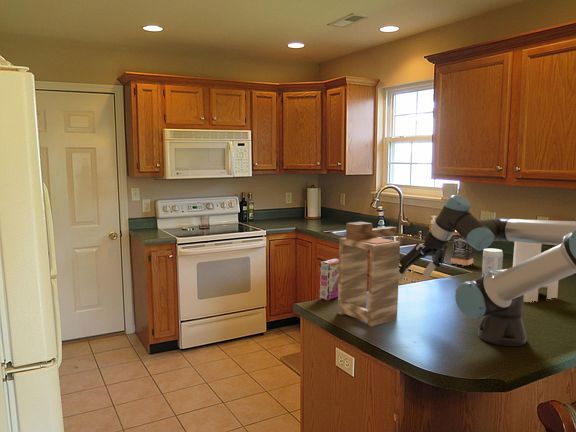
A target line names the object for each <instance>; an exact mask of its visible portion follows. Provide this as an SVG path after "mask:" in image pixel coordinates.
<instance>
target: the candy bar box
mask: <svg viewBox="0 0 576 432" xmlns="http://www.w3.org/2000/svg"><path fill="white" fill-rule="evenodd" d="M319 276H320V277H319V278H320V279H319V300H323V301H326V302H327V301H330V300H333V299H336V298H338V282H339V258H331V259H328V260H327V259H326V260H322V261H321V262H320V274H319Z"/></svg>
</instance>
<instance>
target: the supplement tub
mask: <svg viewBox="0 0 576 432" xmlns="http://www.w3.org/2000/svg"><path fill="white" fill-rule="evenodd" d="M482 251H483V252H482V263H481V264H482V266H481V268H482V270H481V276H483V275H485V274H487V273H488V271H490V270H503V260H504V253H503V251H504V250H502V249H499V248H488V247H487V248H485V249H483V250H482Z"/></svg>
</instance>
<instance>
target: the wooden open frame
mask: <svg viewBox="0 0 576 432" xmlns="http://www.w3.org/2000/svg"><path fill="white" fill-rule="evenodd" d="M376 238H378V237H376ZM381 238H382V237H381ZM372 239H373V238H372ZM382 239H384V238H382ZM386 239H387V238H386ZM387 240H389V239H387ZM394 241H395V242H390V243H383V244H371V243H366V242H361V241H360V240H359V241H356V240H351V239H346V237H340V238H339V247H338V248H339V249H338V252H339V253H338V259H339V282H338V297H337V315H341V316H344V315H348V316H350V317H353V318H356V319H358V320H360V321H363V322H366V323H367V326H370V327H375V326H378V325H381V324H385V323H388V322H392V321H396V320H397V319H398V304H399V303H398V302H399V301H398V300H399V298H398V297H399V282H400V281H399V280H398V278H397V277H396V275H397V273H398V272H399V269H400V263H399V261H400V255H401V252H400V251H401V241H399V240H394ZM368 257H369V258H368ZM368 261H369V262H368ZM368 263H369V264H368ZM368 265H369V271H368ZM368 274H369V277H368ZM368 281H369V282H368ZM367 289H368V290H367ZM367 291H368V292H367ZM367 293H368V296H367ZM367 297H368V302H367ZM367 304H368V308H367Z"/></svg>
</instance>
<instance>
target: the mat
mask: <svg viewBox="0 0 576 432" xmlns="http://www.w3.org/2000/svg"><path fill="white" fill-rule="evenodd" d="M360 241H361V242H366V243H371V244H383V243H390V242H395V241H396V240H393V239H388V240H387V238H383V239H382V237H377V238H373V239H366V240H360Z"/></svg>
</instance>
